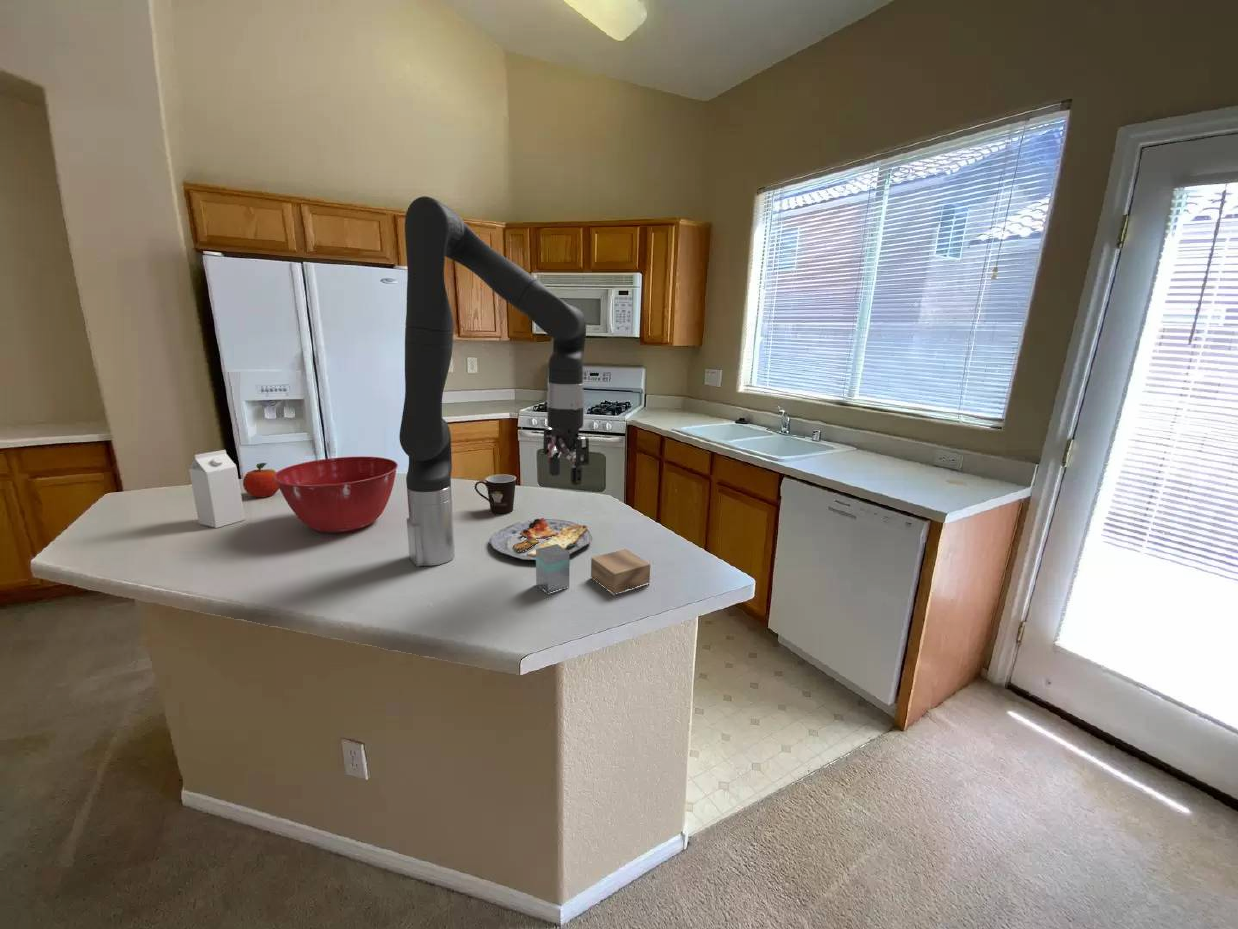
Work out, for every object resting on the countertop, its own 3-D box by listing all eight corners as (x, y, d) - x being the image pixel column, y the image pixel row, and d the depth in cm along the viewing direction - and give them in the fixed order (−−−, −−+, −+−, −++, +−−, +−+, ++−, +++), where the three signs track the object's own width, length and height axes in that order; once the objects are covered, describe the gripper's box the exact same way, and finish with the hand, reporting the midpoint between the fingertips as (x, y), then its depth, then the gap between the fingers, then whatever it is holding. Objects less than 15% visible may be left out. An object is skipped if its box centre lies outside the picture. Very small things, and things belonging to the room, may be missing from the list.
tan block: (614, 596, 102) (614, 574, 100) (590, 579, 109) (591, 557, 108) (649, 586, 107) (650, 564, 105) (624, 569, 114) (625, 549, 113)
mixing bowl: (292, 555, 115) (283, 490, 112) (272, 520, 136) (264, 464, 132) (417, 528, 133) (413, 472, 130) (383, 500, 154) (378, 451, 150)
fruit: (238, 501, 150) (233, 468, 147) (253, 491, 159) (249, 460, 156) (274, 500, 152) (269, 467, 149) (287, 490, 161) (283, 460, 158)
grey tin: (547, 594, 101) (547, 558, 99) (536, 584, 105) (535, 549, 103) (569, 588, 104) (569, 552, 102) (557, 578, 108) (557, 543, 106)
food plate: (538, 519, 142) (538, 507, 141) (608, 538, 131) (608, 526, 130) (471, 551, 122) (471, 538, 121) (547, 577, 110) (547, 563, 109)
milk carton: (198, 524, 131) (185, 453, 127) (228, 516, 138) (216, 448, 133) (216, 528, 129) (203, 456, 124) (245, 520, 135) (234, 451, 131)
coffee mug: (522, 510, 150) (522, 477, 147) (501, 518, 143) (500, 484, 140) (495, 502, 156) (494, 471, 153) (473, 509, 149) (472, 477, 146)
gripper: (532, 401, 108) (533, 474, 112) (569, 410, 97) (568, 490, 101) (562, 400, 112) (562, 470, 116) (600, 408, 102) (598, 485, 106)
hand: (565, 479), depth 109 cm, fingers open, 8 cm apart
